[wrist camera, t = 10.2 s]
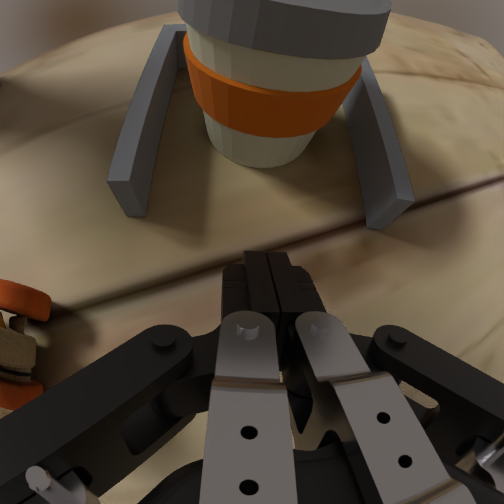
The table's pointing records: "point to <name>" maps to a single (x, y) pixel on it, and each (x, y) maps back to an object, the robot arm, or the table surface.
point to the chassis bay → (356, 111)
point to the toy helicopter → (19, 343)
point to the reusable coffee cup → (275, 69)
